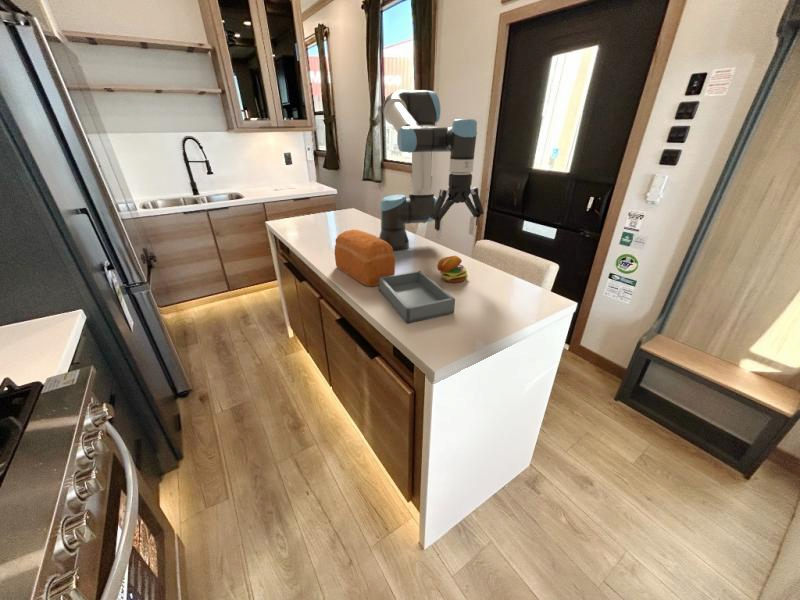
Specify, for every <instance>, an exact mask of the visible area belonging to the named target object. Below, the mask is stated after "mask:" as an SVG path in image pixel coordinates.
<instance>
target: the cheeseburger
mask: <svg viewBox="0 0 800 600" xmlns="http://www.w3.org/2000/svg"><path fill="white" fill-rule="evenodd" d="M436 265H437V266H436V267H437V268H436V269H437V270H438V271H439V273H440V274H441V278H442V280H443V281H445V282H448V283H452V284H453V283H459V282H463V281H466V280H467V279H468V277H469V276H468V272H467V270H466V269H467V268H466V267H465V266H464V265H462V259H461V257H459V256H457V255H452V256H450V255H449V256H447V257H445V256H444V257H442V258H440V259H439V260H438V261H437V264H436Z"/></svg>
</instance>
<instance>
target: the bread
mask: <svg viewBox="0 0 800 600" xmlns="http://www.w3.org/2000/svg"><path fill="white" fill-rule="evenodd" d="M334 259H335V260H334V261H335V266H336V268H338V269H339V270H340V271H341V272H343V273H345V274H346V275H348V276H349V277H352V278H353V279H355V280H356V281H358V282H359V283H361V284H362V285H364V286H366V287H375V286H379V277H384V276H390V275H396V274H395V272H396V271H395V270H396V269H395V268H396V260H395V259H396V256H395V255H394V250H393V248H392V246H391V245H390V244H389V243H387V242H386V241H384V240H382V239H380V238H379V236H378V237H377V236H375V235H373V234H372V233H369V232H366V231H362V230H359V229H351V230H345V231H343V232H341V233H340V234H338V235H337V236H336V238H335V245H334Z"/></svg>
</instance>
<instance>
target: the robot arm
mask: <svg viewBox="0 0 800 600" xmlns="http://www.w3.org/2000/svg"><path fill="white" fill-rule="evenodd" d="M382 103H383V105H382V115H383V117H384V119H385V121H386V122H387V123H388V124H390V125H392V126H393V129H394V130H395V132H396V133H397V135H396V142H397V148H398V150H399V152H403V153H411V172H412V173H411V178H412V179H411V180H412V182H411V183H412V184H411V187H412V188H411V191H410V192H409V193H408V197H406V195H405V194H392V195H388V196H385V197H383V198H381V201H380V207H379V211H380V227H381V228H380V234H379V236H378V238H380V239H382V240H384V241H386V242H387V243H389V244H390V245H391V246H392V248H393V251H401V250H406V249H407V248H409V246H410V240H409V237H408V234H407V231H406V225H407V224H409V225H410V224H421V223H423V224H425V223H431V222H434V229H435V230H436V231H435V232H436V233H435V238H436V239H437V240H439V241H441V240H443V224H444V223H443V222H444V221H443V218H444V217H445V215H446V214H447V212H448V211H449V210H450V208H451V207H452V206H453V205H454V204H459V203H464V204H465V205H466V207H467V209H468V210H469V211H470V212H471V214H472V215H470V217H469V224H468V225H469V226H468V234H469V235H471V236H475V234H476V226H478V223H479V218H480V217H481V216H482V215H484V210H483V209H484V208H483V205H482V203H481V198H480V195H479V188H478V187H475V186H472V181H473V174H472V173H473V171H474V161H475V151H476V142H477V135H478V132H477V131H478V130H477V129H478V127H477V126H478V122H477V120H476V119H474V118H457V119H454V120H453V122H452V126H436V124H437V123H439V120H440V118H441V102H440V97H439V96H438V94H437V93H436V92H435V91H433V90H427V89H421V90H420V89H408V90H407V89H399V90H394V91H393V92H391V93H390V94H389V95H388V96H387V97H386V98H385V99H384V102H382ZM433 152H434V153H435V152H436V153H440V152H441V153H444V152H447V153H449V152H450V156H449V175H448V189H447V190H445V189H439V192H438V193H439V194H438V197H437V196H435V194H434V193H435V192H433V190H432V183H431V182H432V180H431V179H432V153H433ZM470 195H471V198H472V200H471V198H470Z"/></svg>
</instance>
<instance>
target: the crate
mask: <svg viewBox="0 0 800 600" xmlns="http://www.w3.org/2000/svg"><path fill="white" fill-rule="evenodd" d="M378 290H379V292H380V293H381V294H382V296H383V297H384V298H385V300H387V302H388V303H389V304H390V306H392V308H393V309H394V310H395V311H396V313H397V314H398V315H399V316H400V318H401V319H402V320H403V322H404V323H405V324H406V325H408V324H412V323H417V322H420V321H425V320H429V319H434V318H438V317H443V316H447V315H451V314H455V305H456V298H455V297H453V296H452V295H451V294H450V293H449V292H447V291H446V290H445V289H444V288H443V287H442V286H440V285H439V284H438V283H436V282H435V281H434V280H432V279H431V278H430V277H429V276H428V275H427V274H426V273H424V272H423V271H422V270H416V271H409V272H403V273H397V274H395V275H390V276H384V277H379V285H378Z"/></svg>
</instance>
